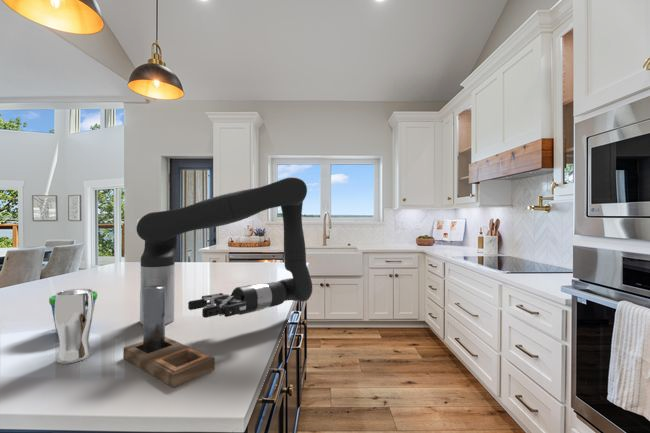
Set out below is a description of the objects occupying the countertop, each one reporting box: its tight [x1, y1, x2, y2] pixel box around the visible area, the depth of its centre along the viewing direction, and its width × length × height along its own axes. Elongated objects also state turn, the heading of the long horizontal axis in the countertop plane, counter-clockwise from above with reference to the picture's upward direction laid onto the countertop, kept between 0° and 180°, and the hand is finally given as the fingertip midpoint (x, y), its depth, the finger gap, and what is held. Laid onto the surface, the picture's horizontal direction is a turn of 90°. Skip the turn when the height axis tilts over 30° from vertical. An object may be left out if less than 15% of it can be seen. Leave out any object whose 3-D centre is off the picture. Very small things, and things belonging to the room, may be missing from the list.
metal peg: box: [142, 285, 166, 354], centre depth 75 cm, size 4×4×16 cm
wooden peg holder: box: [122, 336, 216, 388], centre depth 71 cm, size 21×9×3 cm, turn 54°
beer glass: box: [54, 288, 94, 365], centre depth 74 cm, size 7×7×15 cm
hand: (195, 309), depth 81 cm, fingers open, 8 cm apart
